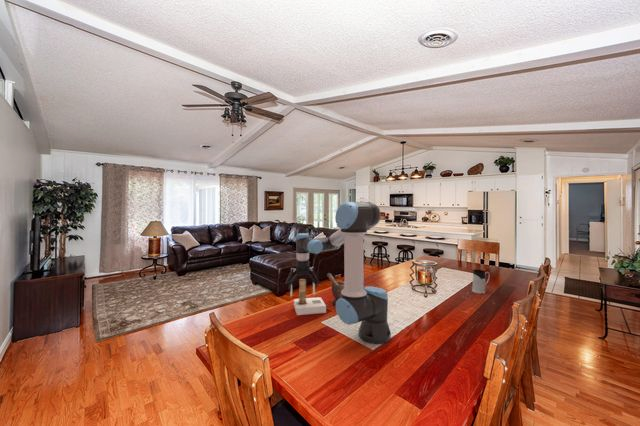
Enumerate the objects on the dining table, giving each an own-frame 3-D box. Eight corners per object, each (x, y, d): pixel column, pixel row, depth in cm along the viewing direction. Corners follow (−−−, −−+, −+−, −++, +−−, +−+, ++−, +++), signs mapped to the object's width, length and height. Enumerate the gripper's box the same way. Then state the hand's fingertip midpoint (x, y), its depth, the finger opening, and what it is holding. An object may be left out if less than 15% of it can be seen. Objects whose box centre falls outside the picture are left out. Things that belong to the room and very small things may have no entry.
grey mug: (468, 289, 195) (469, 269, 194) (483, 288, 200) (484, 268, 199) (479, 294, 187) (480, 273, 186) (494, 292, 191) (495, 271, 190)
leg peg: (306, 310, 156) (306, 280, 155) (299, 311, 155) (299, 281, 154) (305, 308, 160) (305, 278, 159) (298, 308, 159) (298, 279, 158)
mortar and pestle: (334, 308, 160) (334, 275, 159) (324, 304, 166) (325, 272, 165) (347, 304, 167) (348, 272, 166) (338, 299, 174) (338, 269, 173)
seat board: (326, 312, 154) (326, 305, 154) (297, 315, 150) (297, 308, 150) (320, 303, 167) (320, 297, 167) (293, 305, 163) (293, 299, 163)
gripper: (321, 257, 163) (321, 291, 163) (280, 259, 157) (281, 294, 158) (324, 260, 155) (324, 295, 156) (282, 262, 150) (282, 299, 150)
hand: (302, 295), depth 157 cm, fingers open, 13 cm apart
